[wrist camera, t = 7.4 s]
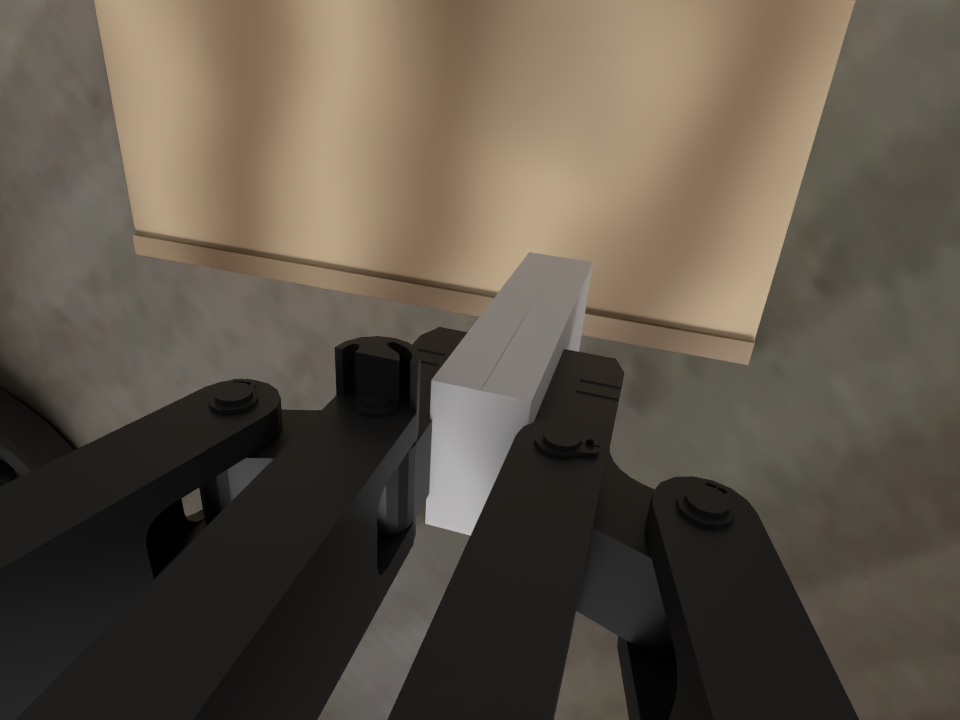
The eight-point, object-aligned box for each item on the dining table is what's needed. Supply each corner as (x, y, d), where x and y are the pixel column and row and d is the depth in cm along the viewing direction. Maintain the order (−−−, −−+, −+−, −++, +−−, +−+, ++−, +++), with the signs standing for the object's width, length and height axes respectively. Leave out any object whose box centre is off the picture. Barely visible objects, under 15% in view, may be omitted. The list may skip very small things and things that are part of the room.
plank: (167, 242, 25) (136, 255, 23) (122, -50, 20) (79, -57, 19) (743, 343, 20) (747, 366, 19) (843, -5, 16) (859, -10, 14)
